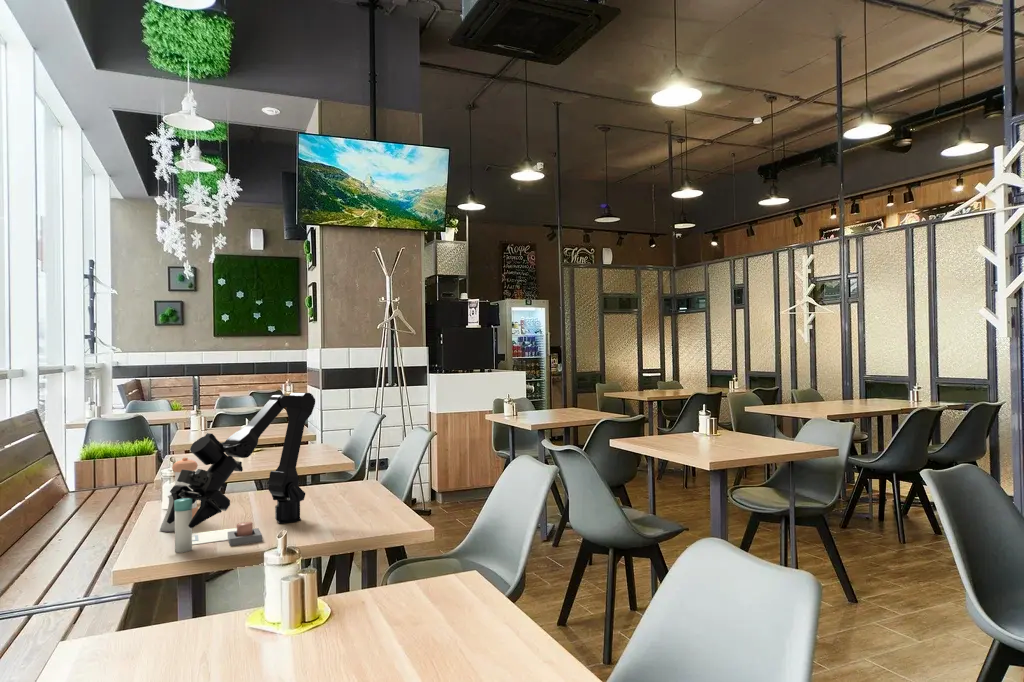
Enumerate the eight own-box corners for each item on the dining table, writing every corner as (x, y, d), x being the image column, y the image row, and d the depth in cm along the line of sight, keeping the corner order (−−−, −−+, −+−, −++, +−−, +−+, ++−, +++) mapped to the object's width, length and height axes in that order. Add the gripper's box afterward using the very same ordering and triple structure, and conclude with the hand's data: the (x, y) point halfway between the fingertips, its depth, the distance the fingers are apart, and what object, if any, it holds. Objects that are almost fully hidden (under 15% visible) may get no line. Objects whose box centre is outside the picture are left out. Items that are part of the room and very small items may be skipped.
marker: (192, 546, 172) (192, 497, 172) (192, 551, 168) (192, 500, 168) (174, 549, 170) (174, 499, 170) (174, 553, 166) (174, 502, 166)
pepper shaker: (202, 516, 204) (202, 455, 205) (189, 522, 197) (189, 459, 198) (181, 516, 205) (181, 455, 205) (166, 522, 198) (166, 459, 198)
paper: (239, 528, 190) (239, 527, 190) (243, 538, 179) (243, 537, 179) (175, 536, 182) (175, 535, 182) (175, 547, 171) (175, 545, 171)
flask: (176, 533, 186) (176, 498, 186) (154, 532, 187) (154, 497, 187) (193, 526, 193) (193, 492, 193) (172, 525, 194) (172, 492, 194)
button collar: (258, 534, 183) (258, 528, 183) (262, 541, 176) (262, 534, 176) (227, 538, 179) (227, 531, 179) (230, 545, 172) (230, 539, 172)
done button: (251, 532, 180) (251, 521, 180) (253, 535, 177) (253, 524, 177) (236, 534, 178) (236, 523, 178) (237, 537, 175) (237, 526, 175)
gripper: (176, 455, 178) (136, 503, 168) (220, 459, 168) (179, 511, 158) (203, 479, 184) (165, 527, 174) (246, 485, 175) (209, 536, 165)
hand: (178, 525), depth 168 cm, fingers open, 9 cm apart
